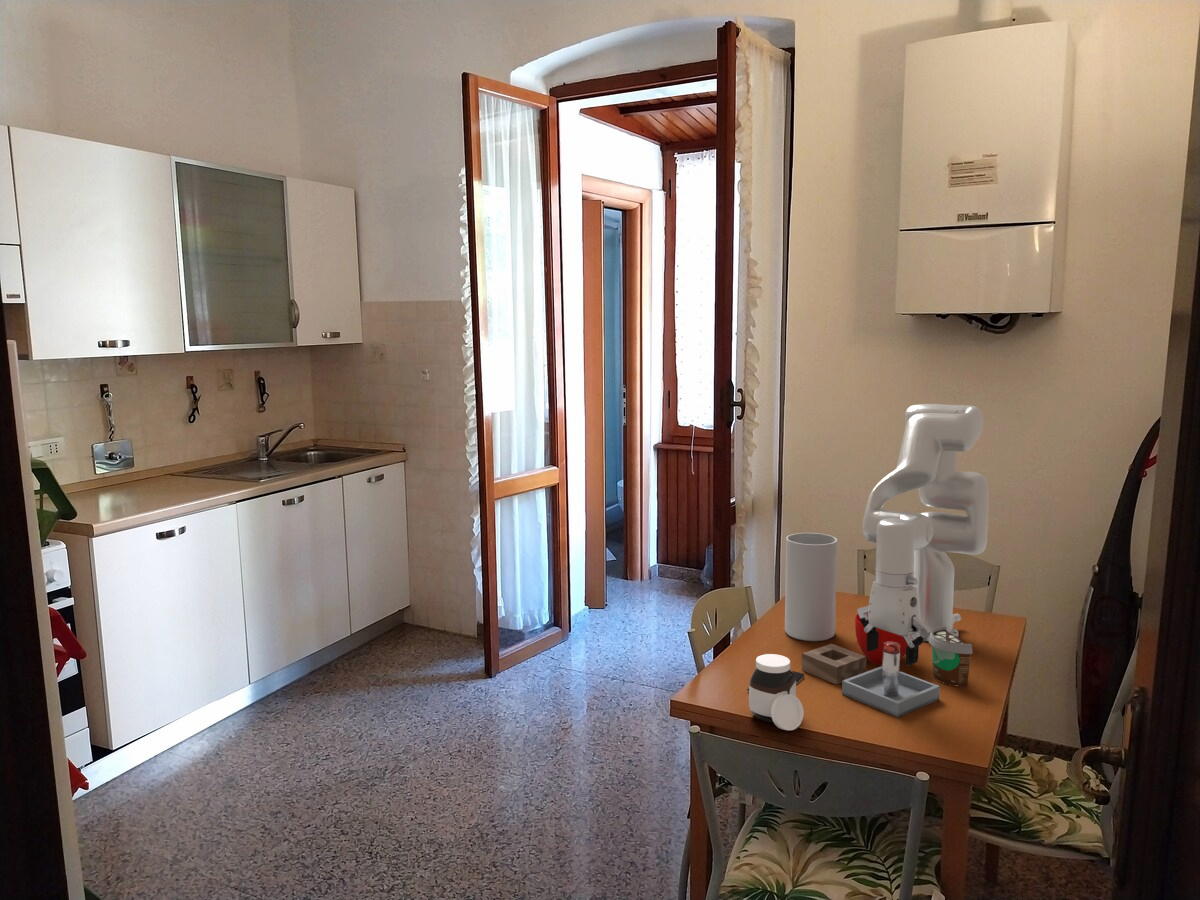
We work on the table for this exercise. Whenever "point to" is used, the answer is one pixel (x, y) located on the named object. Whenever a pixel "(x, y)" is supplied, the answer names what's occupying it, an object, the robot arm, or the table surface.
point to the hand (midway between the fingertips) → (891, 656)
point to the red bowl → (884, 636)
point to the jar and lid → (775, 692)
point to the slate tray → (909, 699)
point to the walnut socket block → (833, 663)
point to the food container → (950, 657)
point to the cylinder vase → (810, 586)
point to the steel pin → (890, 669)
